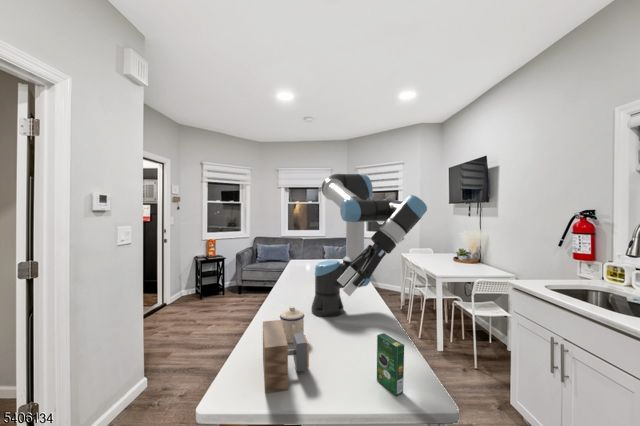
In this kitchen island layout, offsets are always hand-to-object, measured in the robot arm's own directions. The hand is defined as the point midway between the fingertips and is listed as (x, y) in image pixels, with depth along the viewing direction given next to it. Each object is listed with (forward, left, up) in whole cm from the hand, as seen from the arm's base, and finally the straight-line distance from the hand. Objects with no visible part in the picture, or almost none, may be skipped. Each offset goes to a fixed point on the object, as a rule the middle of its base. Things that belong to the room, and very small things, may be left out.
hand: (342, 287), depth 89 cm
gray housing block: (+16, 0, -22) cm, 27 cm away
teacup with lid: (+13, -20, -24) cm, 34 cm away
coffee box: (-9, +14, -24) cm, 29 cm away
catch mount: (+21, 0, -24) cm, 32 cm away
